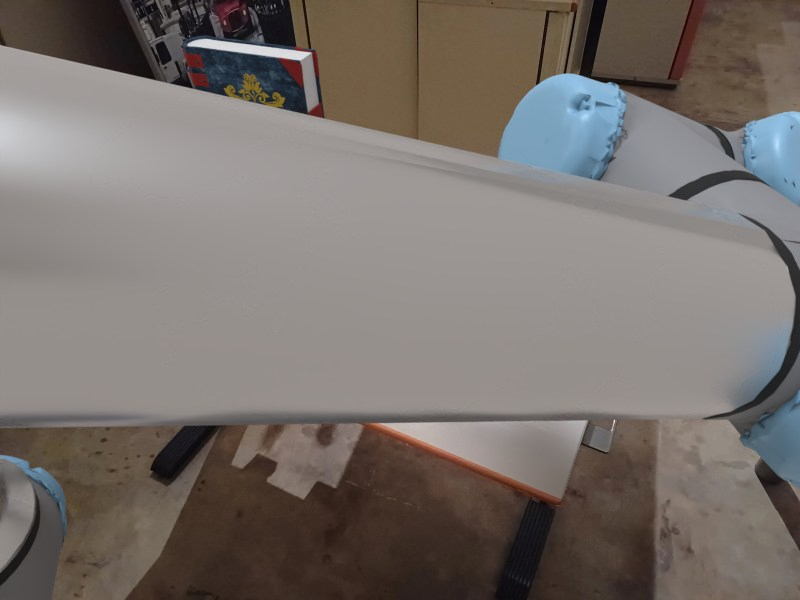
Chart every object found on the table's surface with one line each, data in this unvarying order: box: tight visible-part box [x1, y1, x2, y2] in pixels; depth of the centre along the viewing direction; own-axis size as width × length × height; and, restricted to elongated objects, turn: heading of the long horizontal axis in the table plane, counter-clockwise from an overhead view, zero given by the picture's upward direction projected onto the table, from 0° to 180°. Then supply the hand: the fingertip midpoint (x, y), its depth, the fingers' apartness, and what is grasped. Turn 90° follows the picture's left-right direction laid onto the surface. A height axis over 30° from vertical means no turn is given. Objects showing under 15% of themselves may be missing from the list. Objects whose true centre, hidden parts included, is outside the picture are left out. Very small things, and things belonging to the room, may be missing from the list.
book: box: [181, 35, 326, 119], centre depth 103 cm, size 25×7×25 cm, turn 67°
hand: (447, 292), depth 64 cm, fingers closed on pill bottle, 5 cm apart
